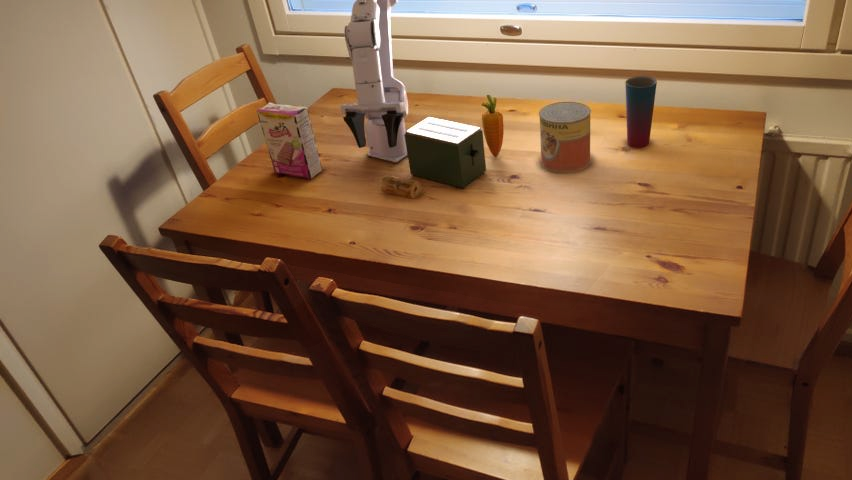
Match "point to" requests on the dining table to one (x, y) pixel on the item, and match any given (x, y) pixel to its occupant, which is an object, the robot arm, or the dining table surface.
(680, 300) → the dining table surface
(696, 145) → the dining table surface
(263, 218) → the dining table surface
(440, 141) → the toaster
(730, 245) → the dining table surface
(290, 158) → the candy bar box
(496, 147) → the carrot
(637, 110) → the cup
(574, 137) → the canned food
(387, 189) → the tan cylinder with hole
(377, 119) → the robot arm
